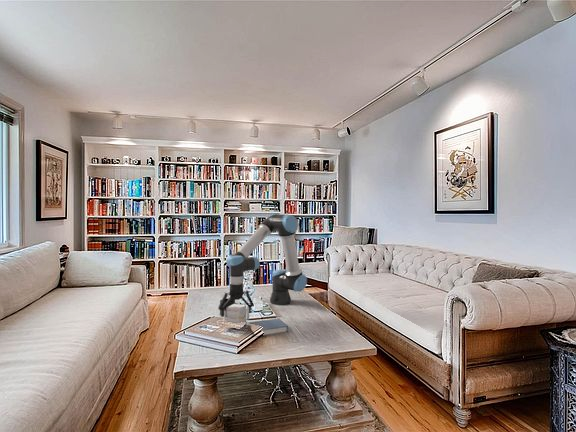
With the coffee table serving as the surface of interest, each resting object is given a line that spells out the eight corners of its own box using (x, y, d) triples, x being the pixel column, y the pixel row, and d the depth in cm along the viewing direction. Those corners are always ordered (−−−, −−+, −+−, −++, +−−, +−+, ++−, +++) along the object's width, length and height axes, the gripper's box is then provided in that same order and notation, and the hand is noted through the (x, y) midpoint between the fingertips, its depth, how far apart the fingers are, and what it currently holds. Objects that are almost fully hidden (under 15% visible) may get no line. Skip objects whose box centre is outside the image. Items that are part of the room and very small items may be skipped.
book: (279, 324, 187) (279, 318, 187) (287, 332, 175) (287, 325, 175) (249, 328, 180) (249, 322, 180) (256, 337, 168) (256, 330, 168)
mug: (239, 316, 200) (239, 302, 200) (219, 317, 198) (219, 303, 198) (238, 311, 209) (238, 297, 209) (220, 312, 207) (220, 298, 207)
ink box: (246, 324, 186) (246, 304, 185) (239, 330, 178) (239, 309, 177) (233, 323, 188) (233, 303, 188) (226, 328, 180) (226, 307, 180)
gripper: (255, 280, 191) (255, 315, 191) (213, 283, 181) (212, 320, 181) (259, 282, 184) (259, 319, 184) (215, 286, 174) (215, 325, 174)
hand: (236, 320), depth 183 cm, fingers open, 13 cm apart
